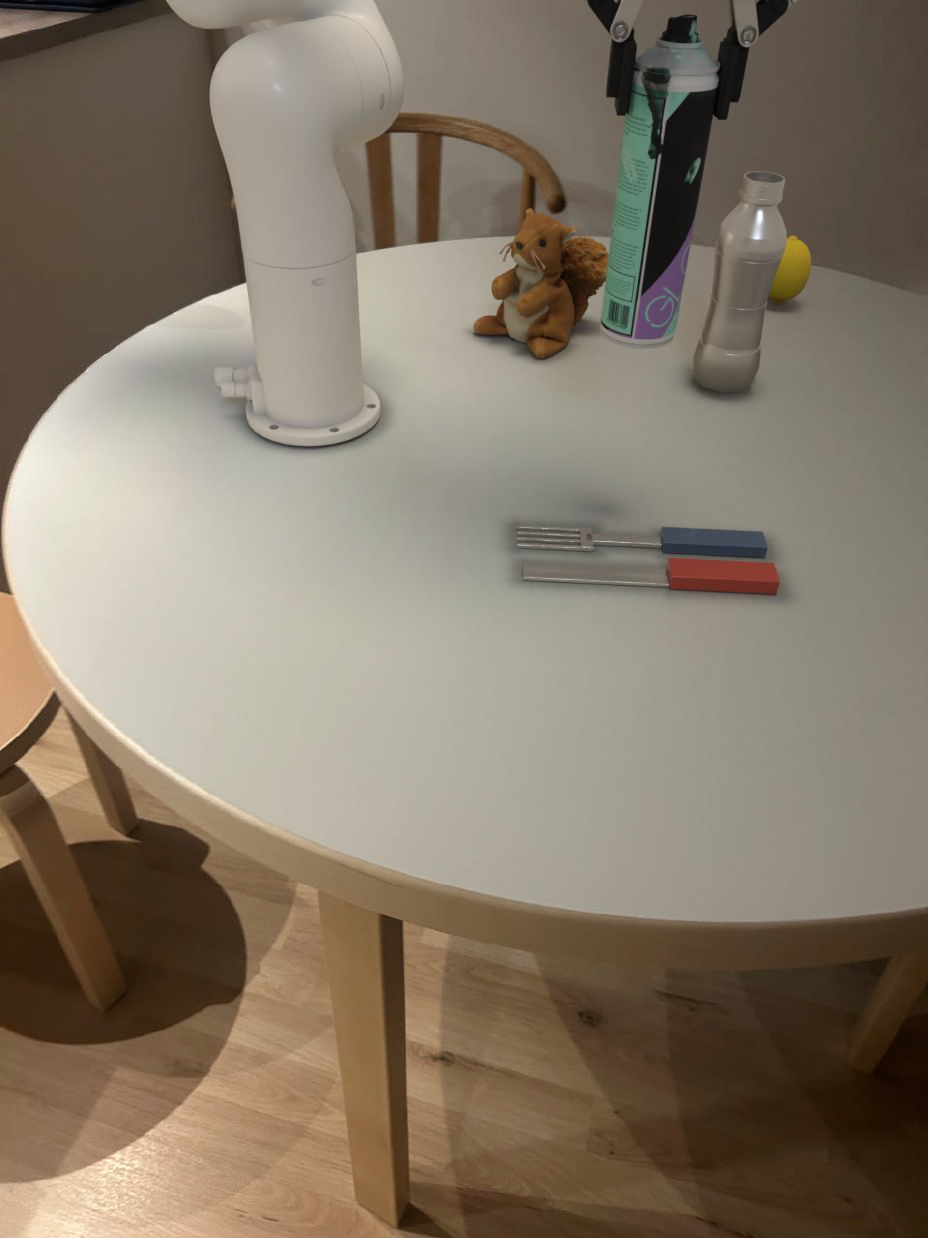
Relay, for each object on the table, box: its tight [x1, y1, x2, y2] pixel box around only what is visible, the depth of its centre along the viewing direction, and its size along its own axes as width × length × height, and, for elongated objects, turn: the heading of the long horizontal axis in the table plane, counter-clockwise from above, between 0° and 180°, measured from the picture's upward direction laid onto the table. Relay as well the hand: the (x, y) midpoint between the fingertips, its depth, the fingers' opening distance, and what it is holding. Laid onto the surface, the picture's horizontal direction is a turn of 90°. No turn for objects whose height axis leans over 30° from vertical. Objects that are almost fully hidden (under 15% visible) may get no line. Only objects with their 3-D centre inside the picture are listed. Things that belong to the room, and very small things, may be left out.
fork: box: [516, 524, 768, 559], centre depth 76 cm, size 20×3×1 cm, turn 87°
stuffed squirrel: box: [473, 208, 609, 359], centre depth 102 cm, size 10×14×13 cm
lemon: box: [768, 235, 812, 305], centre depth 112 cm, size 6×6×8 cm
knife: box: [522, 557, 781, 595], centre depth 72 cm, size 19×2×1 cm, turn 87°
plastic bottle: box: [692, 170, 788, 393], centre depth 91 cm, size 6×7×20 cm
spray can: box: [599, 14, 720, 350], centre depth 64 cm, size 6×6×20 cm
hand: (669, 109), depth 61 cm, fingers closed on spray can, 5 cm apart
